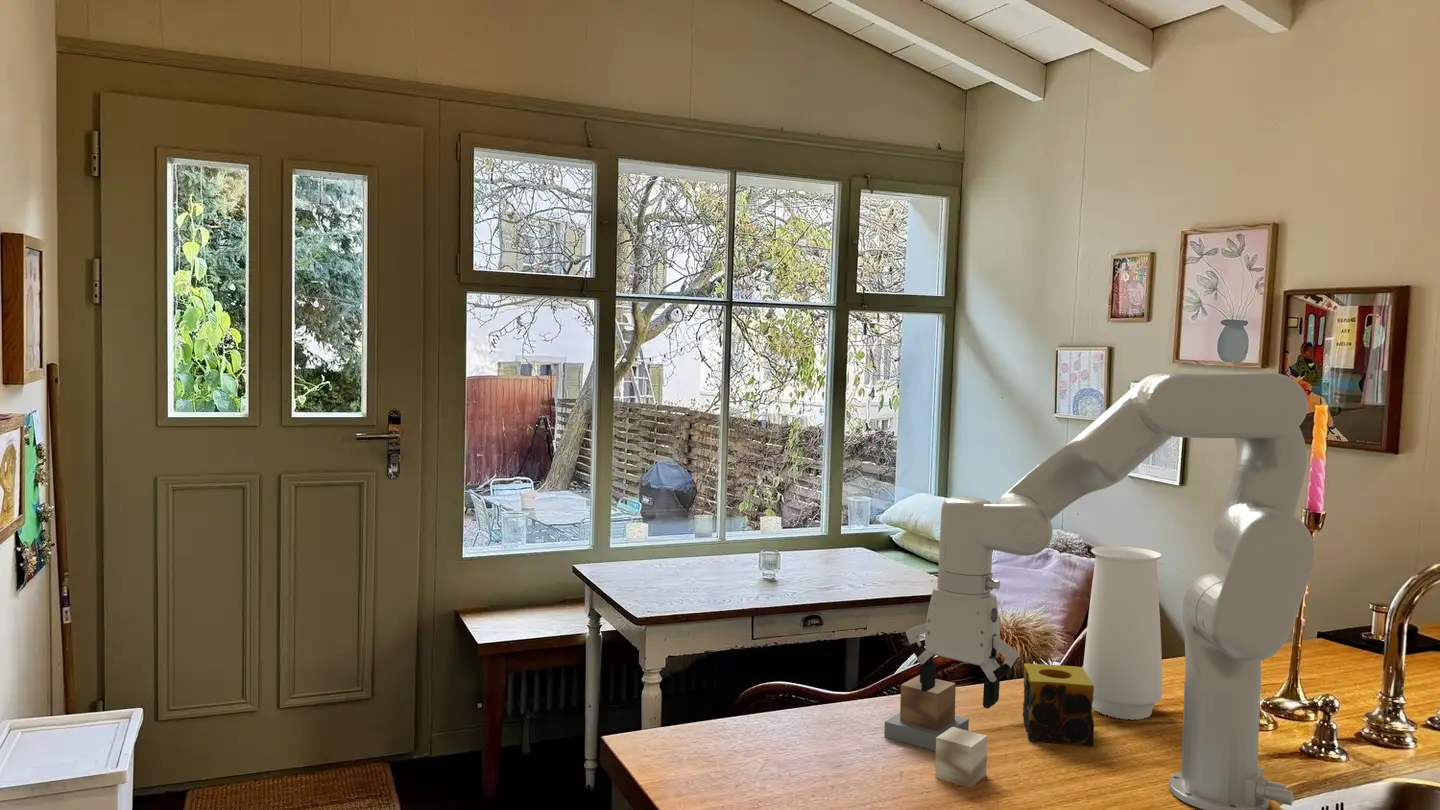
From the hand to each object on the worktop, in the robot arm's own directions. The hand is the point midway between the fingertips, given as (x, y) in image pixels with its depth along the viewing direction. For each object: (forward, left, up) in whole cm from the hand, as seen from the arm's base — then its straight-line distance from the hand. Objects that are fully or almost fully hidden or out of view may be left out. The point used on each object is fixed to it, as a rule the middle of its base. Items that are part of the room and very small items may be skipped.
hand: (958, 697), depth 144 cm
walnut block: (+10, -11, -9) cm, 18 cm away
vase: (-11, -44, -12) cm, 47 cm away
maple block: (-1, 0, -12) cm, 12 cm away
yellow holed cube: (-6, -26, -12) cm, 29 cm away
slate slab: (+10, -11, -12) cm, 19 cm away
